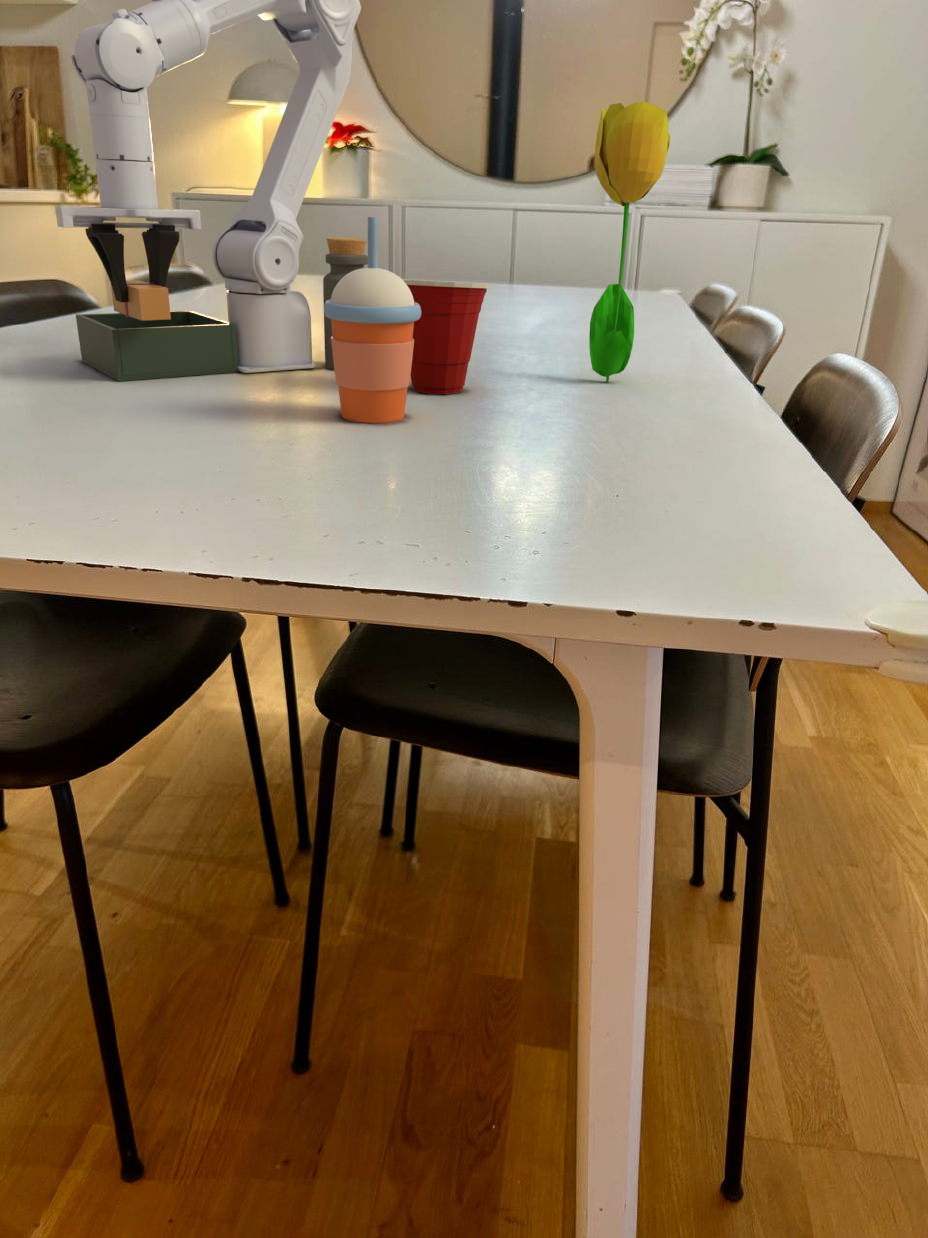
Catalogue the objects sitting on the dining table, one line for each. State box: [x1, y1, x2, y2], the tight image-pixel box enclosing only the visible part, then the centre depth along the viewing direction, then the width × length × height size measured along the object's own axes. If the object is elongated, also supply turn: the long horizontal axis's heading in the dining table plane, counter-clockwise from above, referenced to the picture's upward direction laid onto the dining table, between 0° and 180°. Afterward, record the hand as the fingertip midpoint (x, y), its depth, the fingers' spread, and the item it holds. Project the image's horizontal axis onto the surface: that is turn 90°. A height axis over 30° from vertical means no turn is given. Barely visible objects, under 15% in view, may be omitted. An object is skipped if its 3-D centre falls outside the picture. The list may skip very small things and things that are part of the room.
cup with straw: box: [323, 216, 421, 424], centre depth 85 cm, size 9×9×18 cm
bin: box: [75, 310, 240, 382], centre depth 108 cm, size 14×14×6 cm
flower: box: [588, 100, 671, 384], centre depth 105 cm, size 9×8×30 cm
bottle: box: [322, 237, 368, 370], centre depth 111 cm, size 6×6×15 cm
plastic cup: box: [402, 279, 491, 395], centre depth 100 cm, size 11×11×12 cm
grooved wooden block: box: [110, 279, 171, 321], centre depth 98 cm, size 3×9×3 cm, turn 37°
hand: (140, 300), depth 98 cm, fingers closed on grooved wooden block, 3 cm apart
